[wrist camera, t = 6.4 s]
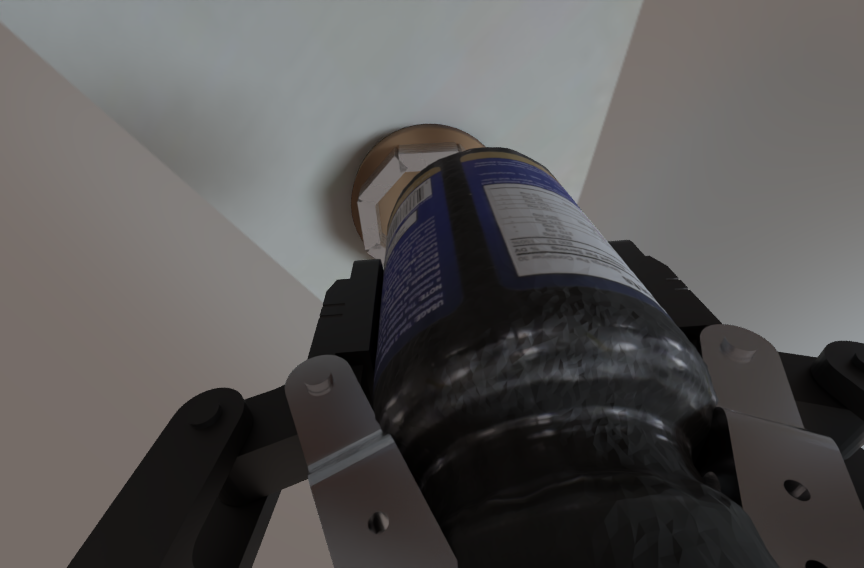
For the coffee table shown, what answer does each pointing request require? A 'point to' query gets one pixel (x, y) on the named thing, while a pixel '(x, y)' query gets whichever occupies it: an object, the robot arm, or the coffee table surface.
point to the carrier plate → (407, 176)
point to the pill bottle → (542, 382)
